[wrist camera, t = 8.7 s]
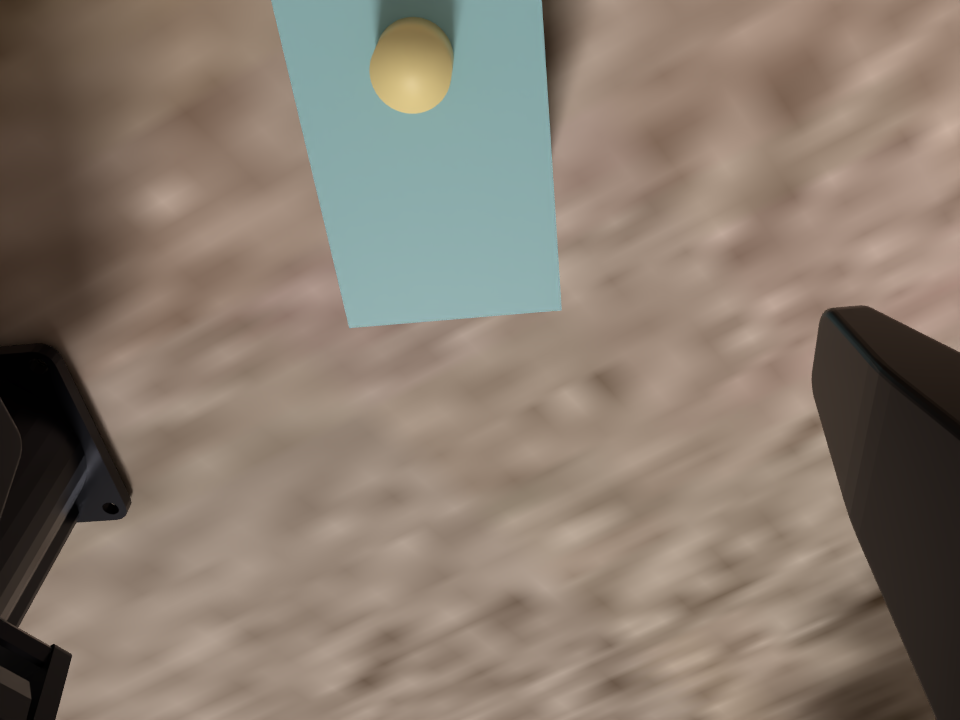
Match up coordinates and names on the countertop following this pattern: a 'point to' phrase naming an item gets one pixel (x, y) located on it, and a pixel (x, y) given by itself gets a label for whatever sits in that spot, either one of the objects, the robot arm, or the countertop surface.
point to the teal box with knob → (428, 153)
